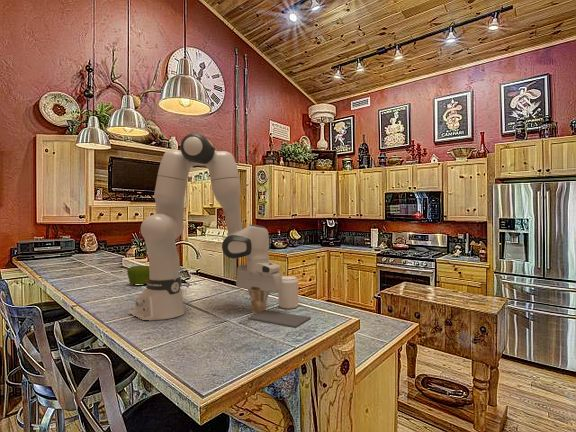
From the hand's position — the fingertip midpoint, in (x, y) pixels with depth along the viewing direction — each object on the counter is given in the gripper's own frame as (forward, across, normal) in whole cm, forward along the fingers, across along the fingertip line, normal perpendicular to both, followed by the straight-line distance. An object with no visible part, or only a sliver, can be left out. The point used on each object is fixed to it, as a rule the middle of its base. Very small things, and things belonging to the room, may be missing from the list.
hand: (258, 301), depth 132 cm
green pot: (+4, -89, +11) cm, 90 cm away
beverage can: (+4, +7, +12) cm, 14 cm away
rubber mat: (+4, +12, -4) cm, 13 cm away
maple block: (+4, 0, 0) cm, 4 cm away
